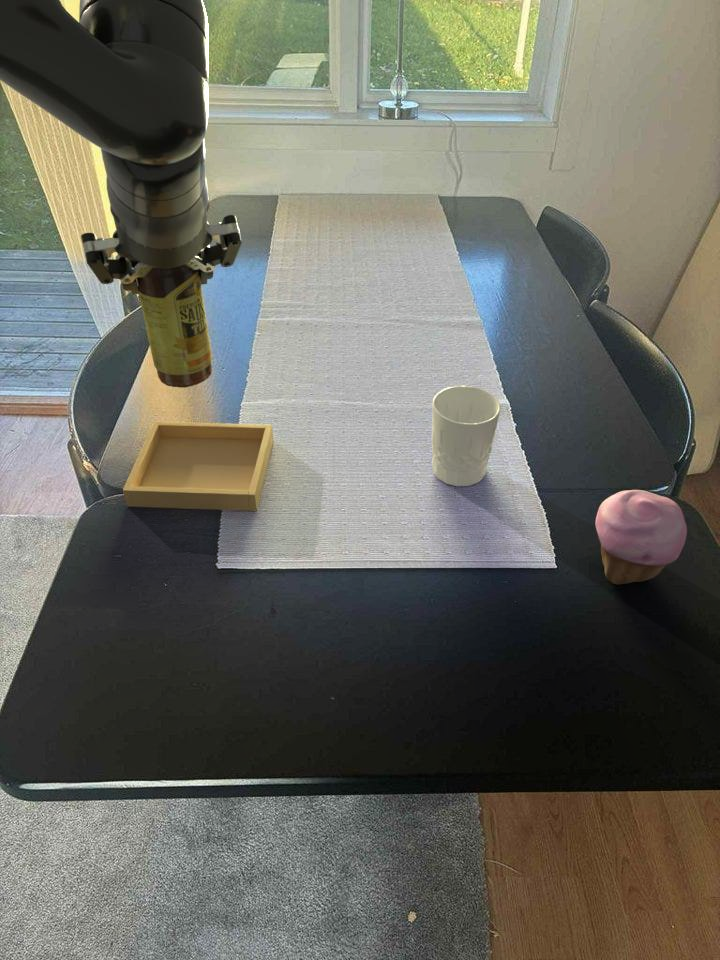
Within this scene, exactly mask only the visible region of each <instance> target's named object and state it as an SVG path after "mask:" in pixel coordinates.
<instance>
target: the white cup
mask: <svg viewBox="0 0 720 960" xmlns="http://www.w3.org/2000/svg"><path fill="white" fill-rule="evenodd" d="M501 406H502V405H501V403H500V401H499V399H498V398H497V397H496V396H495V395H494V394H493V393H491V392H489V391H487V390H486V389H483V388H480V387H476V386H470V385H456V386H450V387H447V388H444V389H442V390H440V391H438V393H436V395H435V396H434V397H433V399H432V414H431V451H432V452H431V453H432V460H431V461H432V462H431V470H432V473H433V474H434V475H435V477H436V478H437V479H438V480H439V481H441V482H443V483H444V484H447V485H451V486H454V487H470V486H472V485H475V484H479V482H481V481H482V479H484V478H485V476H486V473H487V469H488V463H489V459H490V457H491V454H492V450H493V445H494V442H495V437H496V432H497V427H498V422H499V418H500V415H501V414H500V413H501V409H502V407H501Z"/></svg>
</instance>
